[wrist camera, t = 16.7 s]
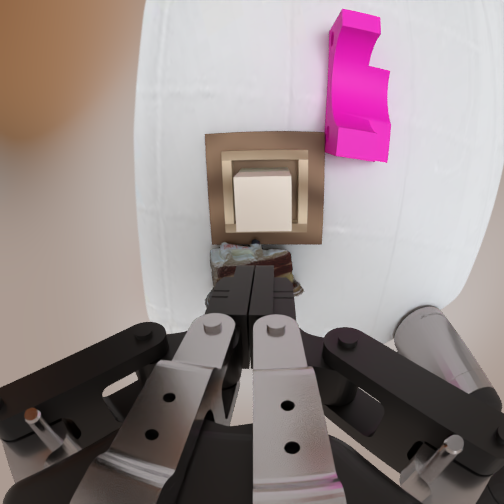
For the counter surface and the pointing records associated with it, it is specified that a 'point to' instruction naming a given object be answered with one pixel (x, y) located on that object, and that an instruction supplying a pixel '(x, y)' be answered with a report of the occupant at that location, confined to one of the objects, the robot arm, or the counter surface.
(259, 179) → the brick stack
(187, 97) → the counter surface
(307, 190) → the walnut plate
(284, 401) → the robot arm
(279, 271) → the chocolate cake
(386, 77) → the toy block
